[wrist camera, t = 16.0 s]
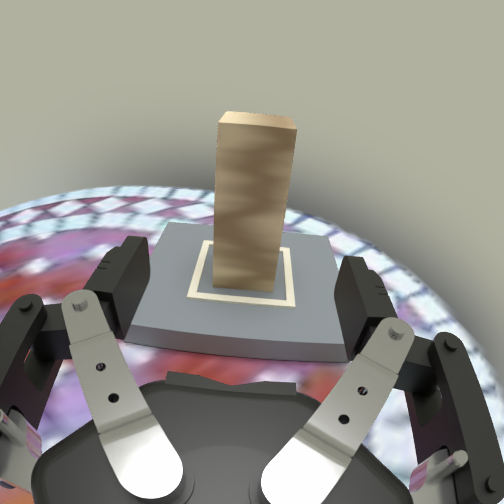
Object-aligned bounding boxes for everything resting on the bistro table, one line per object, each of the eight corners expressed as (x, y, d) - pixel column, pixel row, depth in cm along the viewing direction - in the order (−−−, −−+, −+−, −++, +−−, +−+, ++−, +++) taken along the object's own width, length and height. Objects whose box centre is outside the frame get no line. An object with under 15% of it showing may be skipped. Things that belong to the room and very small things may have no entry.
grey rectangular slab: (124, 341, 21) (118, 320, 20) (169, 238, 33) (168, 220, 31) (349, 362, 21) (358, 342, 20) (323, 253, 33) (328, 234, 32)
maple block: (212, 287, 24) (218, 122, 17) (219, 253, 28) (226, 111, 21) (272, 292, 24) (296, 129, 17) (271, 258, 28) (290, 117, 21)
